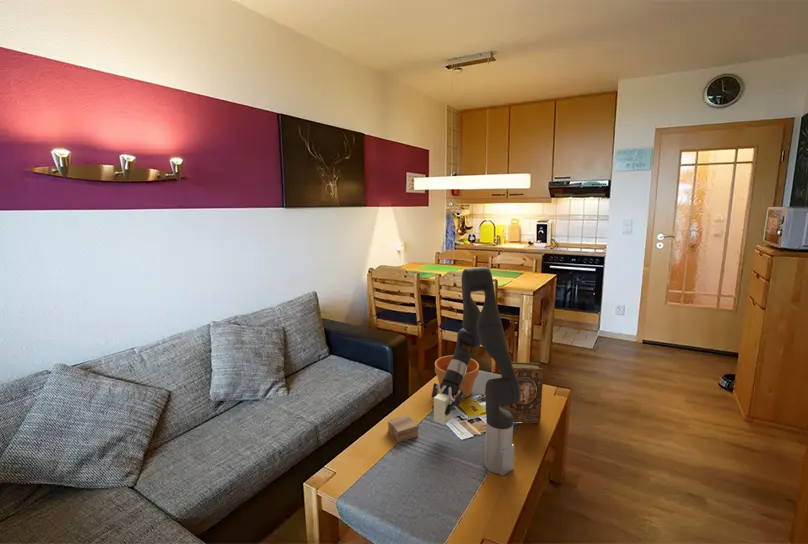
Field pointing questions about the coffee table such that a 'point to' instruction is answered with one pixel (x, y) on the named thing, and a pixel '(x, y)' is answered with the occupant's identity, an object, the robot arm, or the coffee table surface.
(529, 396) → the book
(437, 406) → the cream rectangular block
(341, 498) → the coffee table surface
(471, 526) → the coffee table surface
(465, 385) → the flower pot
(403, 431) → the walnut base block
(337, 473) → the coffee table surface
